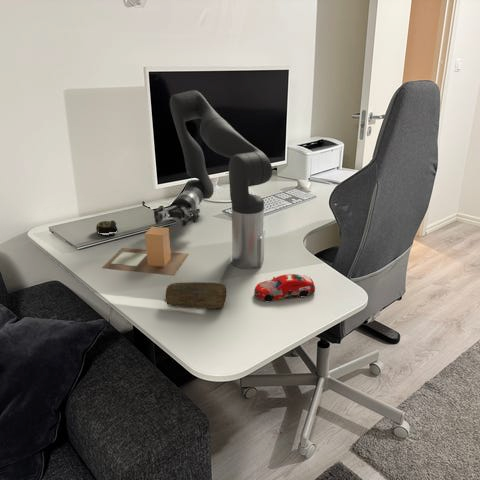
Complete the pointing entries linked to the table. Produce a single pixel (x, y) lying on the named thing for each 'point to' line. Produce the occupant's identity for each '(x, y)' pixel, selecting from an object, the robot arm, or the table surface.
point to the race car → (285, 287)
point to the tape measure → (106, 227)
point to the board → (143, 262)
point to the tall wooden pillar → (158, 246)
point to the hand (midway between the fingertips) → (169, 222)
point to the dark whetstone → (196, 295)
